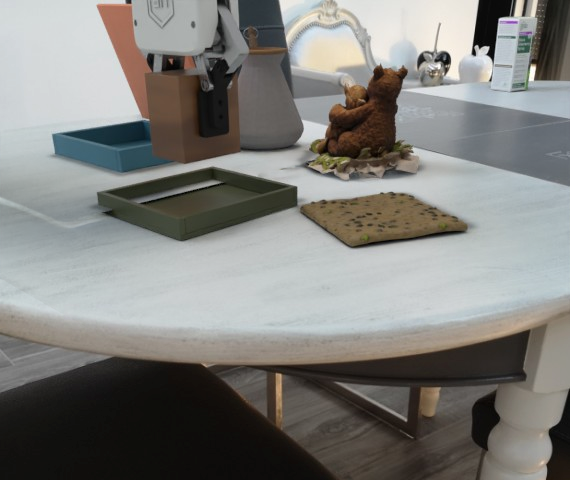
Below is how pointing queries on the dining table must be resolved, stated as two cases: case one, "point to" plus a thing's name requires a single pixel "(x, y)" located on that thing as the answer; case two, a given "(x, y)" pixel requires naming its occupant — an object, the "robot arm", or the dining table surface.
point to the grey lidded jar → (266, 100)
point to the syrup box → (513, 53)
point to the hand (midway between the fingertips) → (195, 129)
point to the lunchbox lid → (130, 50)
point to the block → (186, 118)
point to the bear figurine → (365, 131)
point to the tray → (198, 202)
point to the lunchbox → (110, 146)
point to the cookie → (380, 218)
